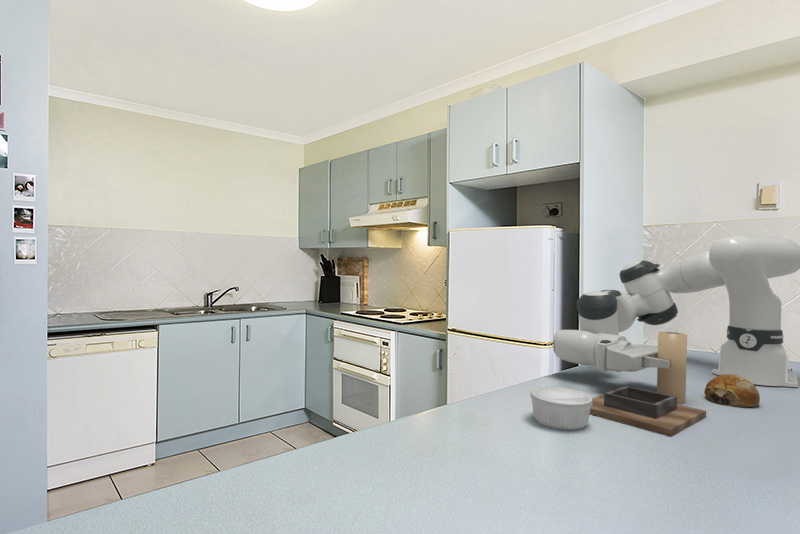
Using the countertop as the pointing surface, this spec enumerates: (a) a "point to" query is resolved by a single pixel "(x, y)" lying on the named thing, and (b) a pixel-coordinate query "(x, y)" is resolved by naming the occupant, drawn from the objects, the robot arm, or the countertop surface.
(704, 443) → the countertop surface
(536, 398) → the ramekin
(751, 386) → the bread roll
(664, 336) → the beige pillar candle
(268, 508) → the countertop surface
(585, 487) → the countertop surface
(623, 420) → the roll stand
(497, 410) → the countertop surface
